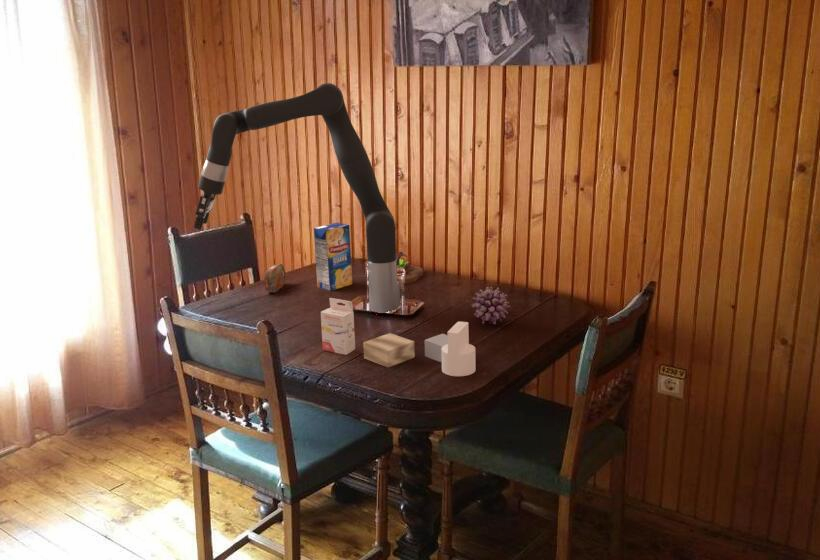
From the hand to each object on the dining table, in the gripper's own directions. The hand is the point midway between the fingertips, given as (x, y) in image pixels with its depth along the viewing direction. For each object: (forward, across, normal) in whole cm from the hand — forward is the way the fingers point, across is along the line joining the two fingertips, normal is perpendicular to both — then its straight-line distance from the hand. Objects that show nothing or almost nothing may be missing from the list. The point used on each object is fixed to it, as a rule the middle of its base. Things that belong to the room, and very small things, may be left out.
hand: (200, 225), depth 255 cm
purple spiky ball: (-1, -16, -94) cm, 96 cm away
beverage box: (+15, +32, -47) cm, 59 cm away
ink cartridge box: (+15, -33, -51) cm, 62 cm away
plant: (+8, +42, -68) cm, 80 cm away
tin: (+23, +31, -27) cm, 47 cm away
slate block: (+5, -41, -78) cm, 89 cm away
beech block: (+10, -40, -65) cm, 77 cm away
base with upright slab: (+4, -51, -82) cm, 96 cm away
